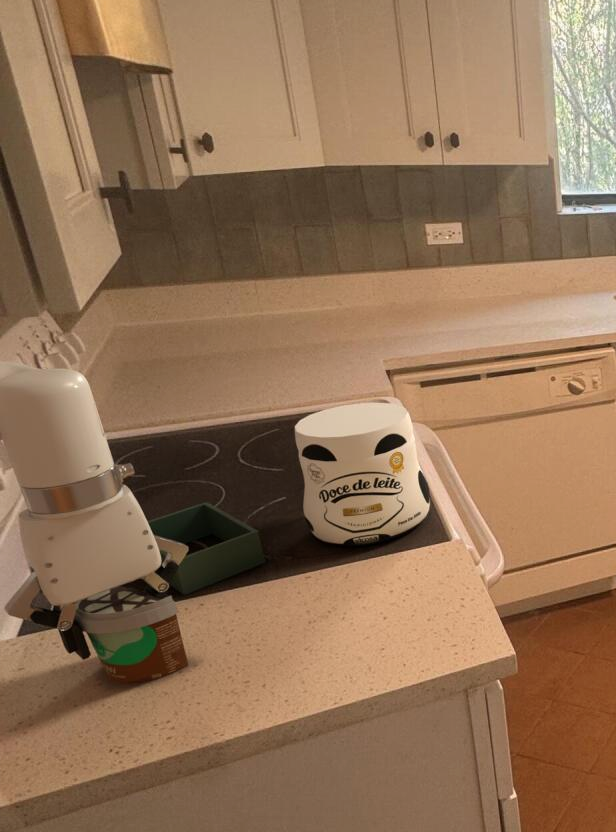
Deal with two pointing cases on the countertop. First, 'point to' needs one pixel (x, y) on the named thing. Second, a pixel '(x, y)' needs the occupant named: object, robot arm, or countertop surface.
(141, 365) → the countertop surface
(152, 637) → the food container
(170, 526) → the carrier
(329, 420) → the milk container
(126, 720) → the countertop surface
